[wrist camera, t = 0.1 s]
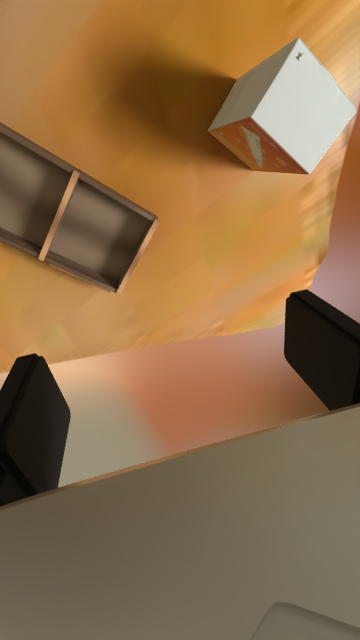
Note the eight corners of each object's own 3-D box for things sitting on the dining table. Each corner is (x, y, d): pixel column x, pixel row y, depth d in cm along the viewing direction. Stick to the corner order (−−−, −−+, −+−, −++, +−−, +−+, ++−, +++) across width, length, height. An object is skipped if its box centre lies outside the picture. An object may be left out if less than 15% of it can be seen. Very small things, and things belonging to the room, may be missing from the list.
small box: (205, 132, 35) (248, 116, 23) (237, 77, 33) (300, 32, 21) (253, 173, 38) (310, 176, 27) (284, 125, 36) (360, 108, 25)
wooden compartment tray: (-139, 38, 26) (-179, 19, 22) (157, 216, 38) (161, 221, 35) (-155, 161, 30) (-192, 160, 26) (119, 287, 42) (119, 298, 38)
